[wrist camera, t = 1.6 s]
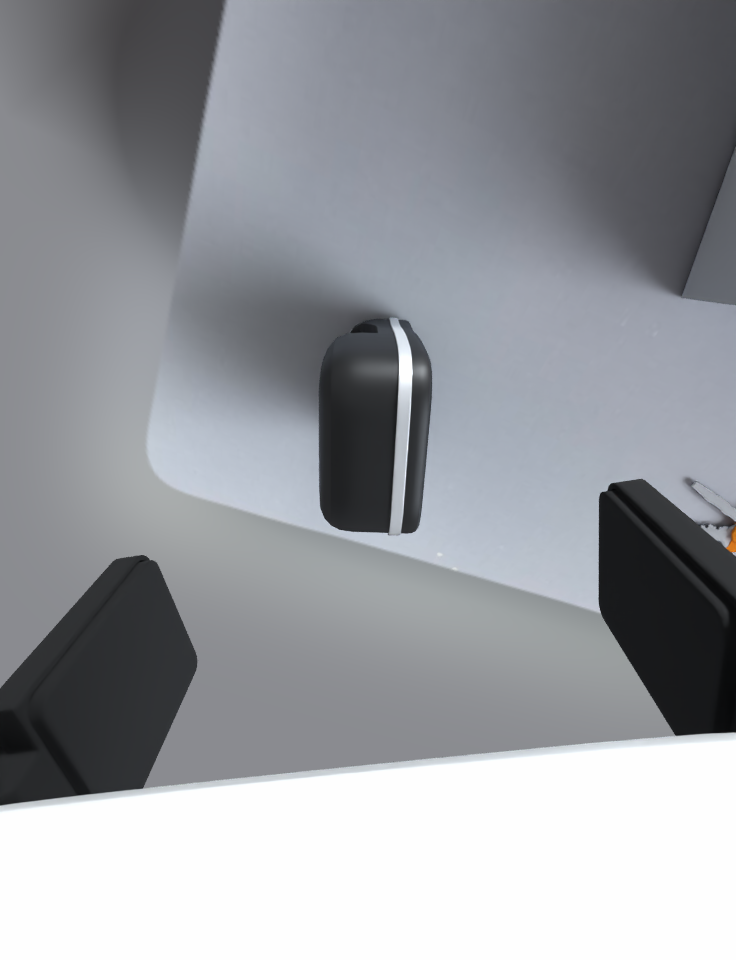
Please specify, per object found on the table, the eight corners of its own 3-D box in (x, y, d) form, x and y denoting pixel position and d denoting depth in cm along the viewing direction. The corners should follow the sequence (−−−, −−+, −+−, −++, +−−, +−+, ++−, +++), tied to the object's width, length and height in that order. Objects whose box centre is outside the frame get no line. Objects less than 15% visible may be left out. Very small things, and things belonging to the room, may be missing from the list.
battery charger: (335, 311, 25) (308, 351, 14) (411, 314, 25) (437, 356, 14) (334, 441, 28) (311, 552, 17) (402, 443, 28) (419, 556, 17)
